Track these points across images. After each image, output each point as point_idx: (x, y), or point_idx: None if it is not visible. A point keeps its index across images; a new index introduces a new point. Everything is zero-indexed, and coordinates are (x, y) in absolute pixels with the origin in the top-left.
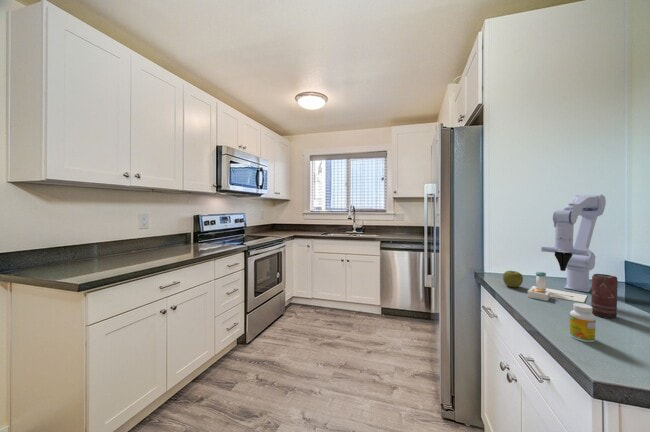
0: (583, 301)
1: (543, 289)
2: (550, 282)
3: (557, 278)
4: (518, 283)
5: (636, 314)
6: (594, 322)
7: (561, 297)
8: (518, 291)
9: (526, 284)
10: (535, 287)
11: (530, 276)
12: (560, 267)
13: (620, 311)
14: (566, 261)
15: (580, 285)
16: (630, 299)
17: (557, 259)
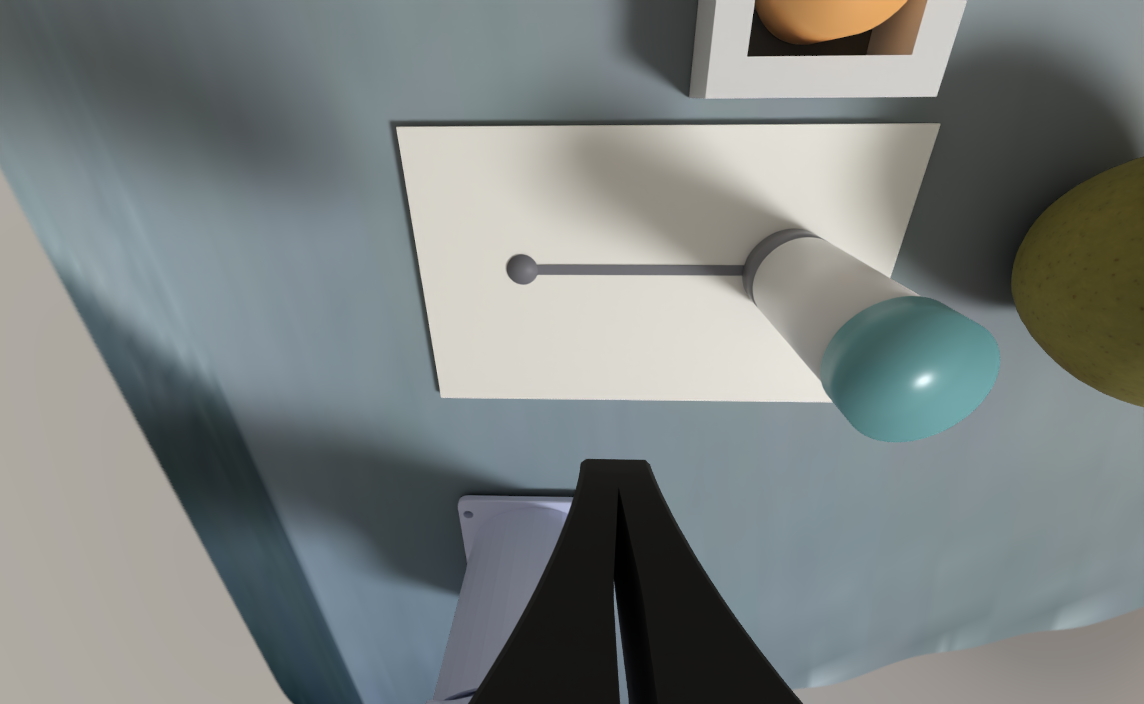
0: (406, 161)
1: (774, 248)
2: None
3: None
4: (1091, 194)
5: (10, 94)
6: None
7: (592, 149)
8: (1041, 62)
9: None
10: None
11: (846, 650)
12: (657, 498)
13: (112, 85)
14: (526, 655)
15: (505, 540)
16: (243, 501)
17: (790, 701)
